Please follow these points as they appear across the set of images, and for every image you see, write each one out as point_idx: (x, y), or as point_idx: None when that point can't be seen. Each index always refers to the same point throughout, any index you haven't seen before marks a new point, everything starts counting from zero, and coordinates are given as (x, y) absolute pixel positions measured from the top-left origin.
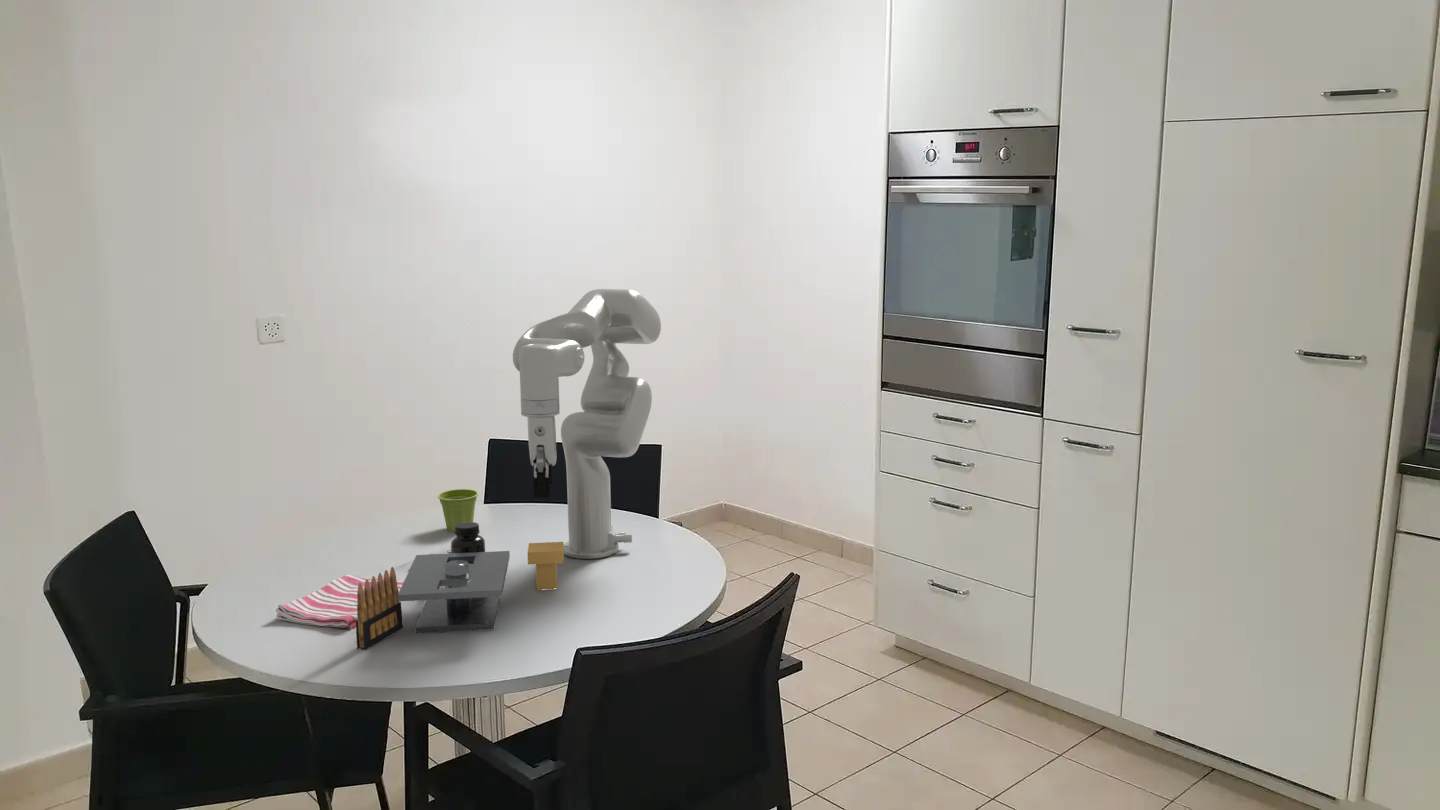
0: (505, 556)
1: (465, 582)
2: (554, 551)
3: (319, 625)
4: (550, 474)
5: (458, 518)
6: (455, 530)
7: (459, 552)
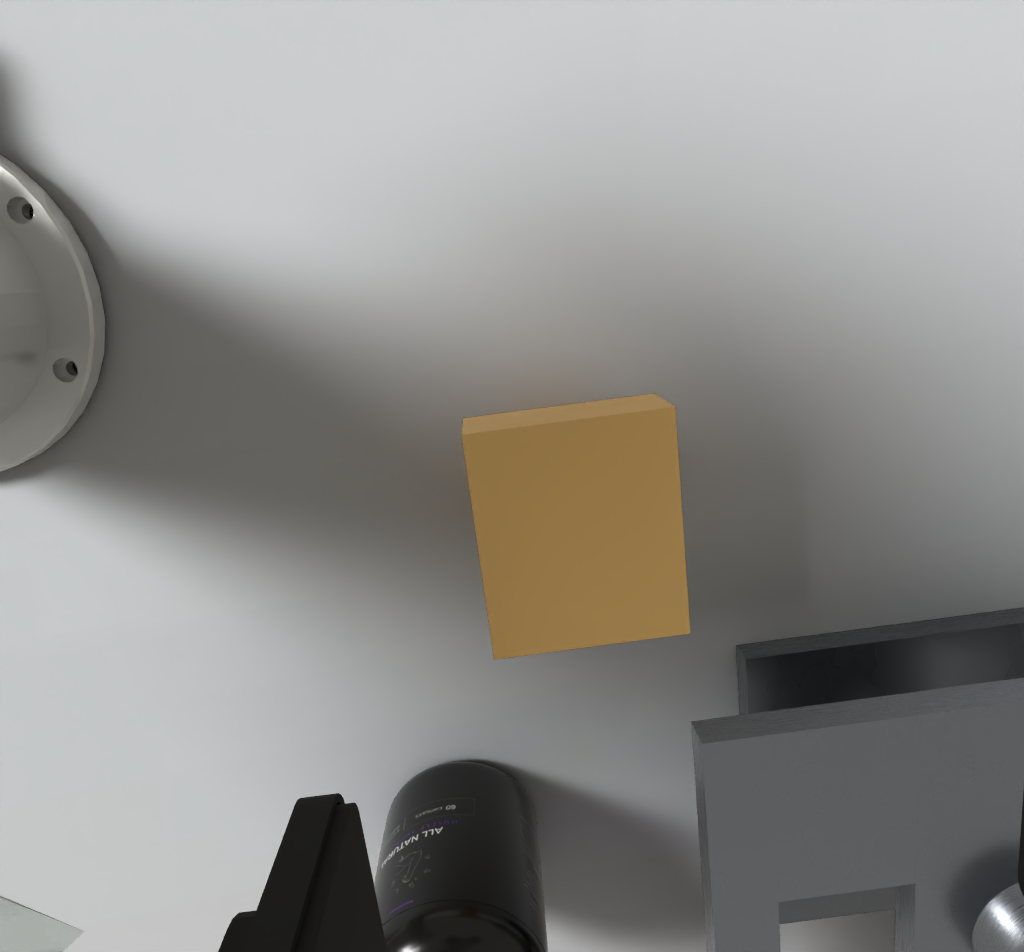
0: (811, 745)
1: None
2: (678, 464)
3: None
4: (325, 933)
5: None
6: None
7: None
